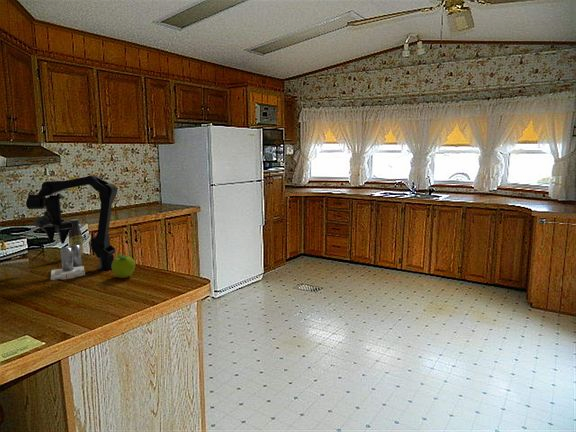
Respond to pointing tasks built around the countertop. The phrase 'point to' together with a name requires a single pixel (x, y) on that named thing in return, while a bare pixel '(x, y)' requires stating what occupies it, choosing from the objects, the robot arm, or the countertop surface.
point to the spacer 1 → (67, 259)
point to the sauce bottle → (76, 235)
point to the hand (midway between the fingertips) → (57, 242)
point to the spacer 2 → (76, 255)
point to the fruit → (123, 266)
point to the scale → (67, 273)
